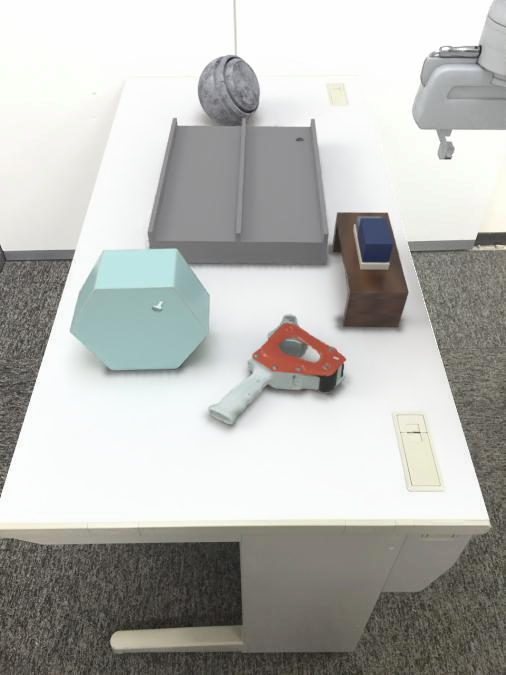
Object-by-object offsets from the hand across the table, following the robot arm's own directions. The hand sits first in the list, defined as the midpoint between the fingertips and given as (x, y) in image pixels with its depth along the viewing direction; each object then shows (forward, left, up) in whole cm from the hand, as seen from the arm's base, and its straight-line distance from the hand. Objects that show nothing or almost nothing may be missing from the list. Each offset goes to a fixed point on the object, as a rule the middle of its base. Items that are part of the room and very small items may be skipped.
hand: (479, 157), depth 70 cm
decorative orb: (+71, -2, -27) cm, 76 cm away
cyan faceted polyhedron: (+15, +45, -27) cm, 55 cm away
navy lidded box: (+9, +7, -19) cm, 22 cm away
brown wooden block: (+9, +7, -27) cm, 29 cm away
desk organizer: (+42, +12, -27) cm, 51 cm away
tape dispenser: (0, +31, -27) cm, 41 cm away
